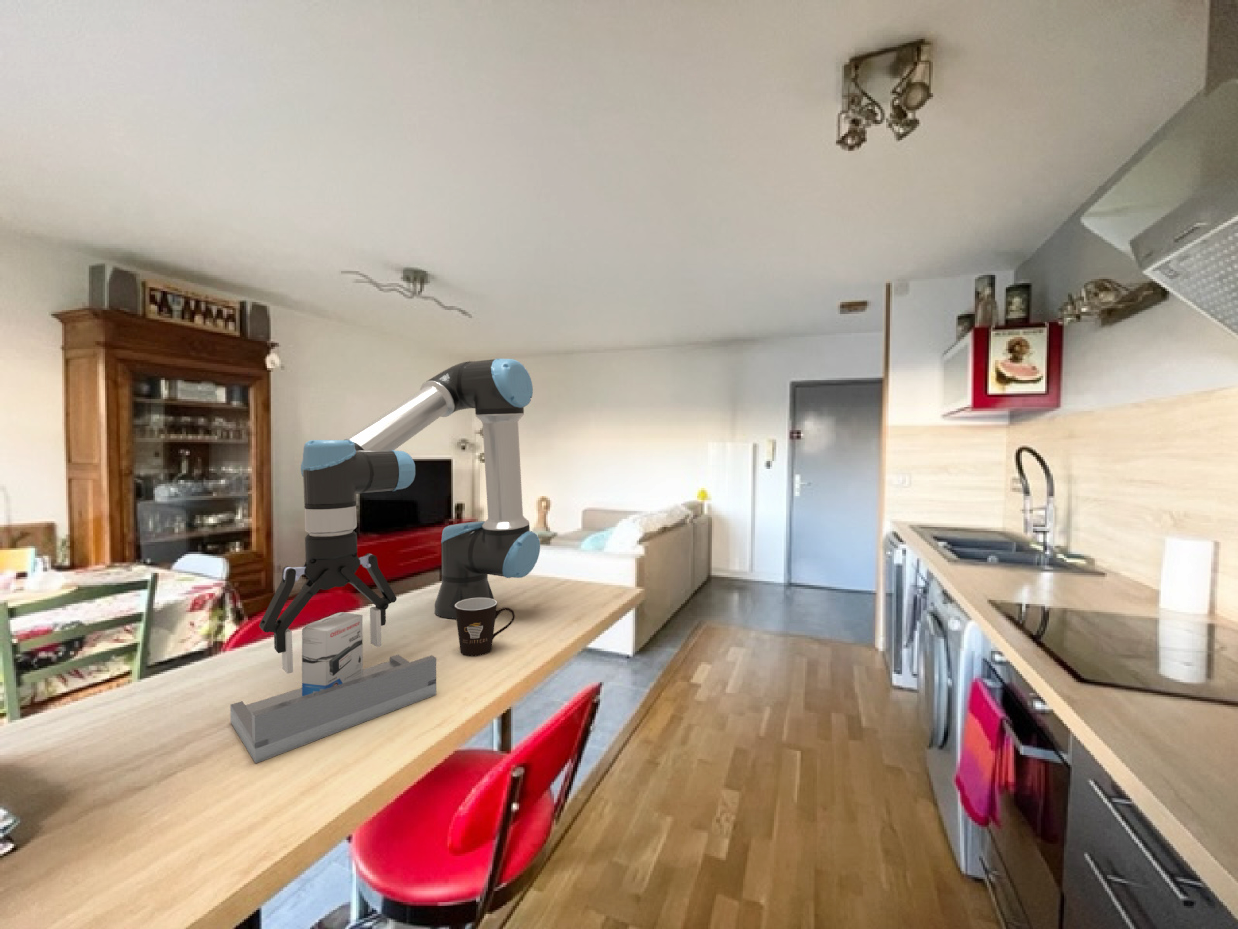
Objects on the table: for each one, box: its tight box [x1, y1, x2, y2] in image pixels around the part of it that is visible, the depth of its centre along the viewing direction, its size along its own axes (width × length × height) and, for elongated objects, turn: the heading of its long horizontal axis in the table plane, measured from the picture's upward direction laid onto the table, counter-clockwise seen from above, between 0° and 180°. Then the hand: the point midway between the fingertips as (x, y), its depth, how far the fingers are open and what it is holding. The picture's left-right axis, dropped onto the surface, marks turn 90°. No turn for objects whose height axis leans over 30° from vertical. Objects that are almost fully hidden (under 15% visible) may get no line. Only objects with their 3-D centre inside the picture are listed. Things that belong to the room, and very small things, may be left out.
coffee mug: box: [455, 598, 516, 657], centre depth 106 cm, size 12×9×10 cm
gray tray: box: [229, 654, 437, 764], centre depth 82 cm, size 26×15×6 cm, turn 138°
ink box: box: [301, 611, 364, 696], centre depth 84 cm, size 8×5×12 cm, turn 168°
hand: (334, 657), depth 84 cm, fingers open, 13 cm apart
